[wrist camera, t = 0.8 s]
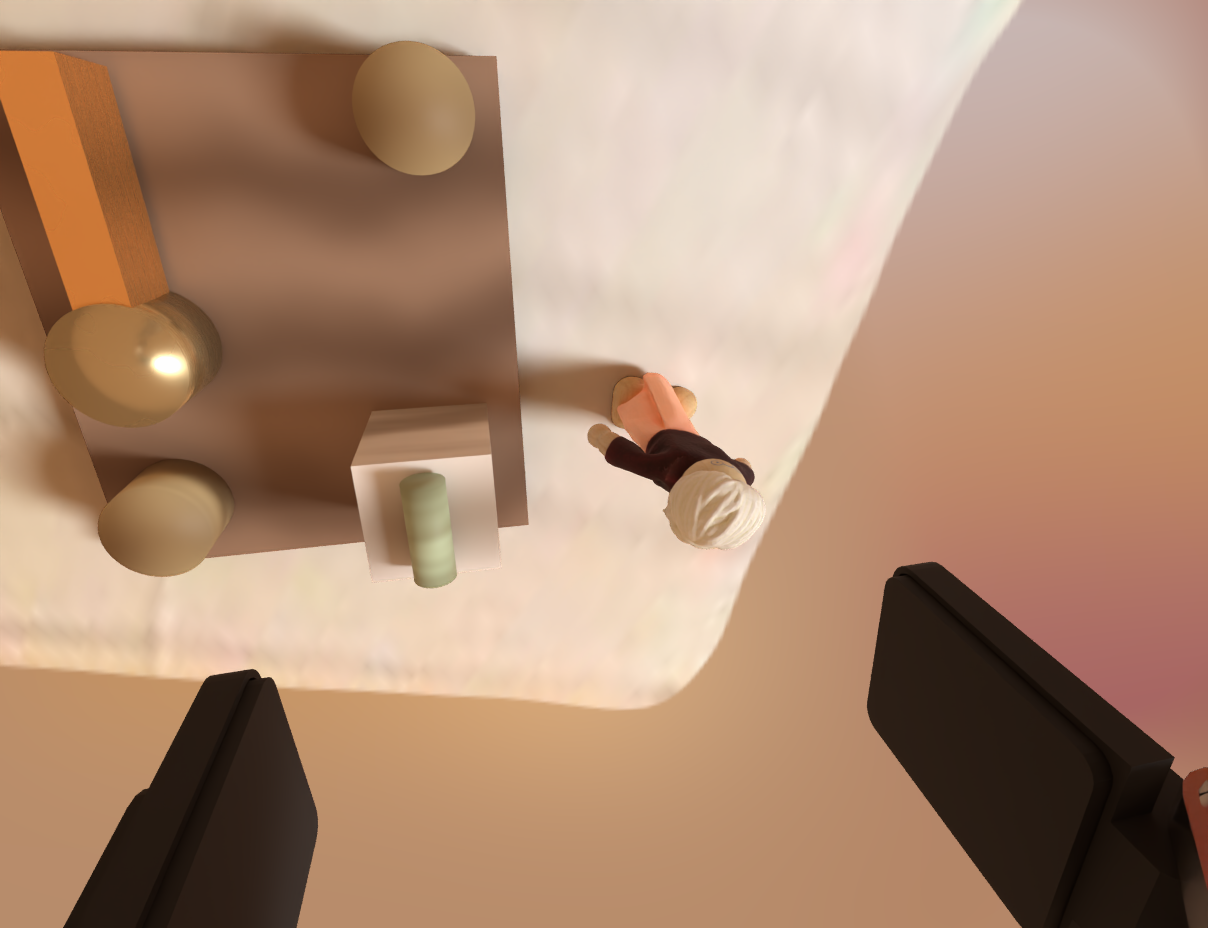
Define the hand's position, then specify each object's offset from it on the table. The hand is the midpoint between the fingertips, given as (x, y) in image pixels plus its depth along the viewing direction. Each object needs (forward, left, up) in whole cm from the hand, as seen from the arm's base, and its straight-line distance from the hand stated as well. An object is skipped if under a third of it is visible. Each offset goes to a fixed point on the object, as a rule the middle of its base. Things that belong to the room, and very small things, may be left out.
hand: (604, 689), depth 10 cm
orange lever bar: (-5, -14, -21) cm, 26 cm away
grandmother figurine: (+4, +6, -24) cm, 25 cm away
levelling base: (-1, -9, -23) cm, 25 cm away
